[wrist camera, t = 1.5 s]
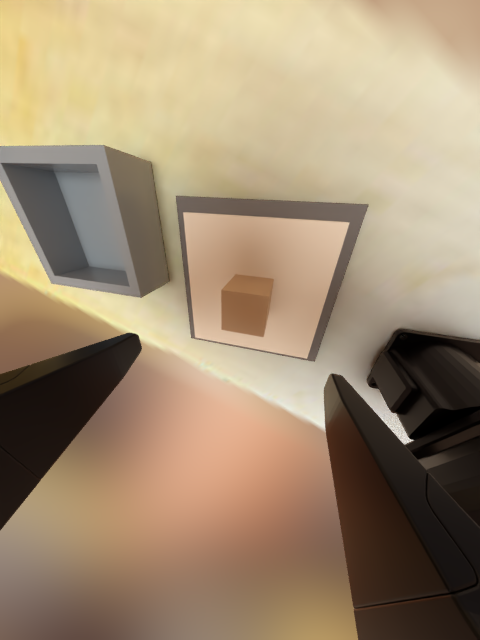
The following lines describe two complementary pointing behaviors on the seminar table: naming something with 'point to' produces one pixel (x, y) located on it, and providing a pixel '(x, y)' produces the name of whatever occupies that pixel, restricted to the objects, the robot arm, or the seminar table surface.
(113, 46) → the seminar table surface
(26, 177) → the dish
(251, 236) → the lid
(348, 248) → the mat
